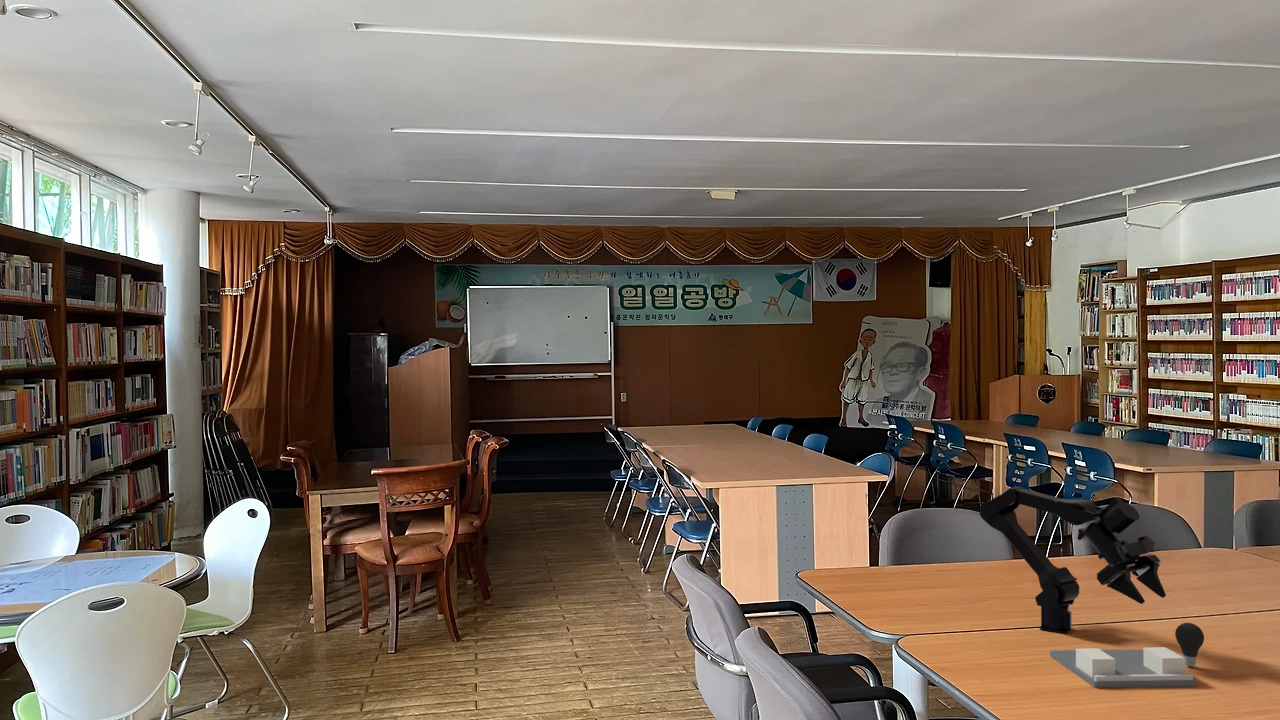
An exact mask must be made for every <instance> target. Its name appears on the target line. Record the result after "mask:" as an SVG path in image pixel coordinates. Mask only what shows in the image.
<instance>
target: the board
mask: <svg viewBox="0 0 1280 720" xmlns="http://www.w3.org/2000/svg"><path fill="white" fill-rule="evenodd" d="M1049 656H1050V657H1051V658H1052V659H1054V660H1055V661H1057V662H1059V664H1061V665H1062V666H1064V667H1065V668H1066V669H1067V670H1069V671H1071V673H1074V674H1075V675H1077V676H1078V677H1079V678H1081V679H1082V680H1083V681H1085V682H1086V683H1088V684H1089V685H1090V684H1091V685H1090V686H1092V687H1093V688H1095V689H1097V688H1099V689H1100V688H1150V687H1151V688H1152V687H1153V688H1154V687H1155V688H1158V687H1159V688H1161V687H1162V688H1163V687H1164V688H1165V687H1166V688H1167V687H1197V680H1196V679H1194V675H1193V674H1191V673H1186V665H1185V658H1184V657H1183V655H1180V654H1178V652H1174V651H1173V650H1170V648H1167V647H1164V646H1163V647H1143V648H1141V649H1136V648H1135V649H1133V648H1132V649H1131V648H1130V649H1099V648H1098V647H1097V648H1094V647H1092V648H1090V647H1089V648H1075V650H1073V649H1071V650H1068V649H1067V650H1065V649H1062V650H1059V649H1058V650H1049Z"/></svg>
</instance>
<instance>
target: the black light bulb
mask: <svg viewBox="0 0 1280 720" xmlns="http://www.w3.org/2000/svg"><path fill="white" fill-rule="evenodd" d="M1174 634H1175V635H1174V636H1175V640H1176V642H1177V643H1178V645H1179V647H1180V649H1181V653H1182V657H1184V658H1185V666H1186V667H1187V668H1193V667H1194V666H1196V664H1197V656H1198V652H1199V650H1200V649H1201V647H1202V646H1203V644H1204V643H1205V642H1204V641H1205V635H1204V632H1203V630H1202V629H1201V628H1200V626H1198V625H1197V624H1195V623H1193V622H1182V623H1181V624H1179V625H1178V626H1177V627H1176V630H1175V633H1174Z"/></svg>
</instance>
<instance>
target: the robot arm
mask: <svg viewBox="0 0 1280 720" xmlns="http://www.w3.org/2000/svg"><path fill="white" fill-rule="evenodd" d="M1021 505H1022V506H1026V507H1029V508H1033V509H1036V510H1040V511H1043V512H1047V513H1050V514H1053V515H1056V516H1057V517H1058V518H1059V519H1060V520H1062V521H1064V522H1066V523H1069V524H1070V525H1073V526H1081V525H1087V524H1088V525H1087V526H1086V527H1085V528H1078V534H1077V540H1078V541H1082V540H1087V539H1088V541H1089V542H1090V543H1091V544H1092V546H1093V547H1094V548H1095V550H1096V551H1097V552H1098V553H1099V554H1098V555H1097V557H1098V559H1099V560H1103V559H1104V560H1105V562H1106V563H1107V565H1106V566H1105V567H1104V568H1102V569H1101V570H1100V571H1098V572H1097V573H1096V580H1097V581H1098V582H1099V584H1100V585H1101V586H1106V587H1107V588H1110V589H1112V590H1115V591H1116V592H1118V593H1121V594H1122V595H1124V596H1126V597H1128V598H1130V599H1131V600H1133V601H1135V602H1137V603H1139V604H1141V605H1142V604H1144V603H1145V602H1146V600H1145V599H1144V597H1143V595H1142V594H1141V593H1140V591H1139V590H1138V587H1136V585H1135V584H1134V582H1133V581H1132V579H1131V578H1132V577H1131V576H1135V577H1136V580H1137V581H1139V582H1140V583H1141V584H1143V585H1144V586H1145V587H1146V588H1147V589H1149V590H1151V591H1152V593H1155V594H1156V595H1157V596H1159V597H1160V598H1162V599H1164V598H1165V597H1166V596H1167V594H1166V591H1165V590H1164V587H1163V585H1162V582H1161V580H1160V578H1159V575H1158V572H1159V571H1158V570H1159V568H1160V567H1161V566H1160V563H1161V559H1160V558H1159V557H1158V556H1157V555H1156V554H1152V553H1154V552H1156V550H1155V545H1156V542H1155V541H1153V539H1152V538H1150V536H1148V535H1143V536H1139V537H1138V538H1137V541H1134V542H1131V543H1129V542H1128V540H1125V539H1123V540H1121V539H1120V538H1119V537H1118V536H1117V535H1116V534H1119V535H1121V534H1123V533H1124V532H1125V531H1127V529H1129V528H1130V527H1131V526H1132V525H1134V524H1135V523H1136V522H1137V521H1138V520H1139V519H1140V514H1139V512H1138V510H1137V509H1136V508H1135V507H1133V506H1132V505H1131V504H1129V503H1128V502H1125V501H1123V500H1122V499H1121V498H1120V497H1117V498H1113V499H1112V500H1111V501H1110V502H1109V504H1108V505H1106V506H1105V507H1100V506H1097V505H1096V504H1095V502H1093V501H1091V500H1087V499H1077V498H1076V499H1074V498H1071V499H1070V498H1068V499H1067V498H1060V497H1056V496H1053V495H1049V494H1045V493H1042V492H1038V491H1035V490H1030V489H1027V488H1024V487H1023V486H1017V487H1016V486H1015V487H1010V488H1008V489H1007V490H1006V491H1004V492H1003V493H1001V494H1000V495H997V496H996V497H994V498H992V499H991V500H988V501H987V500H986V501H984V502H982V503H981V504H980V507H979V515H980V517H981V519H982V520H983V521H984V522H985V523H986V524H987V525H988V526H989V527H991V528H993V529H994V530H996V531H998V532H1000V533H1001V534H1002V535H1003V536H1004V537H1005V538H1006V539H1007V540H1008V542H1009V543H1010V544H1011V545H1012V546H1013V548H1014V549H1015V550H1016V551H1017V552H1018V554H1019V555H1020V556H1021V557H1022V559H1023V560H1024V561H1025V563H1027V565H1028V566H1029V567H1030V568H1031V569H1032V571H1033V572H1034V573H1035V574H1036V575H1037V578H1038V582H1039V587H1040V588H1041V590H1042V591H1041V592H1040V593H1039V594H1037V595H1036V596H1035V597H1034V598H1035V602H1036V606H1038V607H1040V622H1041V623H1040V627H1039V630H1042V631H1048V632H1054V633H1059V634H1068V633H1069V631H1070V630H1071V629H1072V625H1073V623H1072V618H1073V617H1072V615H1073V614H1072V613H1073V612H1072V611H1070V605H1074V602H1075V599H1077V597H1079V595H1080V585H1079V584H1078V583H1079V582H1077V580H1078V578H1076V577H1075V576H1073V575H1072V573H1071V572H1070V570H1069V569H1068V567H1066V566H1063V567H1060V568H1059V567H1057V566H1055V565H1054V564H1053V562H1051V560H1050V559H1049V557H1047V556H1046V555H1045V553H1043V551H1042V550H1041V549H1040V547H1039V546H1038V545H1037V544H1036V543H1035V541H1034V540H1033V539H1032V538H1031V537H1030V536H1029V535H1028V533H1027V532H1026V531H1025V530H1024V528H1022V526H1021V525H1020V524H1019V523H1018V518H1017V514H1016V510H1017V509H1018V508H1019V507H1020V506H1021ZM1096 520H1098V521H1097V522H1095V521H1096ZM1115 533H1116V534H1115ZM1131 574H1132V575H1131Z"/></svg>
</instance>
